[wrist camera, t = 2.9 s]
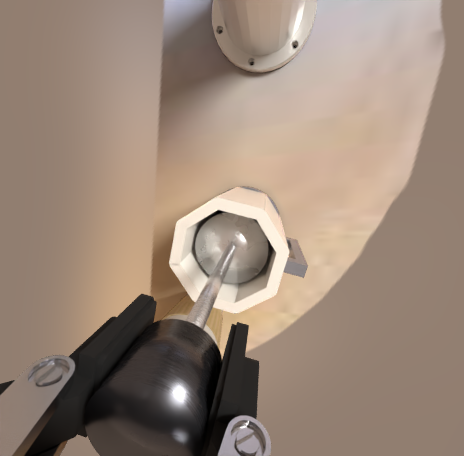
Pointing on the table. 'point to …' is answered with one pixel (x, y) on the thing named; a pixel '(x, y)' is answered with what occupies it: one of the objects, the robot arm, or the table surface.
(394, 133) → the table surface
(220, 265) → the plunger
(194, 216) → the coffee press
